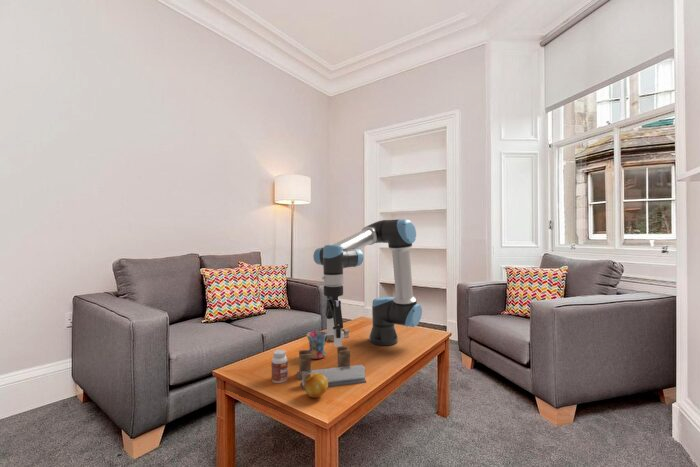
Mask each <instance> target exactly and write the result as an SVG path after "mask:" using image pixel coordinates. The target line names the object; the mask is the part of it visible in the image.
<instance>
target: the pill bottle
mask: <svg viewBox="0 0 700 467" xmlns="http://www.w3.org/2000/svg"><path fill="white" fill-rule="evenodd" d="M286 354H287V353H286V350H284V349H277V350H274V351H273V357H272V358H271V381H272V383H274V384H282V383H285V382H286V381H288V378H289V375H288V374H289V373H288V372H289V371H288V370H289V368H288V367H289V365H288V364H289V363H288V360H289V359H288V357H287V356H286Z"/></svg>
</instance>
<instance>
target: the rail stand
mask: <svg viewBox="0 0 700 467" xmlns="http://www.w3.org/2000/svg"><path fill="white" fill-rule="evenodd" d="M336 350H337V351H336V352H337V366H334V368H337V367H346V366H351V358H350V357H351V350H350V349H348V346H347V345H342V346H338V347H336ZM298 360H299V362H298V364H299V366H298V367H299V368H298V369H299V371H296V376H297V380H298V381H300V380H301V381H302V371H310V370H312V364H311V363H312V362H311V361H312V358H311V354H309V349H301V350H300V349H299V350H298ZM328 368H329V367H328ZM328 368H327V367H325V369H328ZM319 369H320V368H319ZM319 369H316V370H319Z"/></svg>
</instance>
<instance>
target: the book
mask: <svg viewBox="0 0 700 467" xmlns="http://www.w3.org/2000/svg"><path fill="white" fill-rule="evenodd" d="M322 331H323V332H326V333H327V329H326V330H322ZM349 333H350V329H348V328H345V329H344V328H342V340H344V339H347V338H350V336H349V335H350V334H349ZM326 339H327V335H326V337H325V340H326ZM327 341H330V342H332V343H334V335H328V340H327Z"/></svg>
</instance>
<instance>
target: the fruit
mask: <svg viewBox="0 0 700 467" xmlns="http://www.w3.org/2000/svg"><path fill="white" fill-rule="evenodd" d="M328 388H329V387H328V381H327V378H326V377H325V376H324V375H322V374H320V373H313V374H309V375H308V376H307V377H306V381H305V390H304V391H305V393H306V394H307V395H308V397H309V398H310V397H311V398H314V399H316V398H320V397H321V396H323V395H324V394H325V393H326V392H327V390H328Z"/></svg>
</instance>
